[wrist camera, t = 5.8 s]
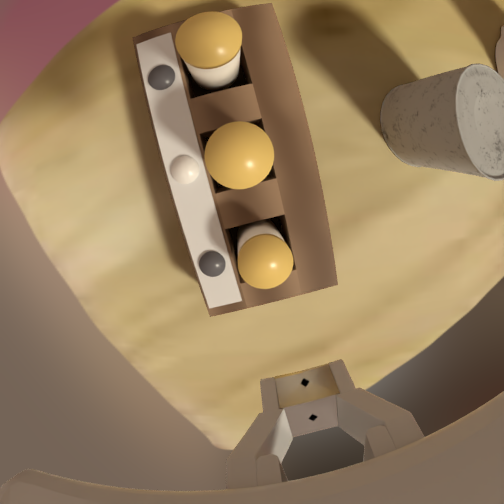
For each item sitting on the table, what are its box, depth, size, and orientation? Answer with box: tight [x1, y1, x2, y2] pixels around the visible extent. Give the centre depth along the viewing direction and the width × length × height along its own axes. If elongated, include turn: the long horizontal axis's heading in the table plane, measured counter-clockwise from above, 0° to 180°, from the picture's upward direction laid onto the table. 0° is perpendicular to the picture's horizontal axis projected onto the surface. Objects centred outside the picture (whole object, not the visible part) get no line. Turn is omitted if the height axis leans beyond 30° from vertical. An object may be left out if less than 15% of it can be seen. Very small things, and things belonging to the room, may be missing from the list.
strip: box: [136, 32, 242, 309], centre depth 22 cm, size 3×24×1 cm, turn 14°
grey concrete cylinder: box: [380, 64, 504, 181], centre depth 21 cm, size 10×10×12 cm
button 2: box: [237, 218, 293, 289], centre depth 26 cm, size 4×4×8 cm
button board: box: [133, 3, 338, 317], centre depth 25 cm, size 12×26×5 cm, turn 14°
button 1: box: [175, 11, 242, 91], centre depth 18 cm, size 4×4×8 cm
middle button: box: [204, 121, 274, 189], centre depth 21 cm, size 4×4×8 cm
